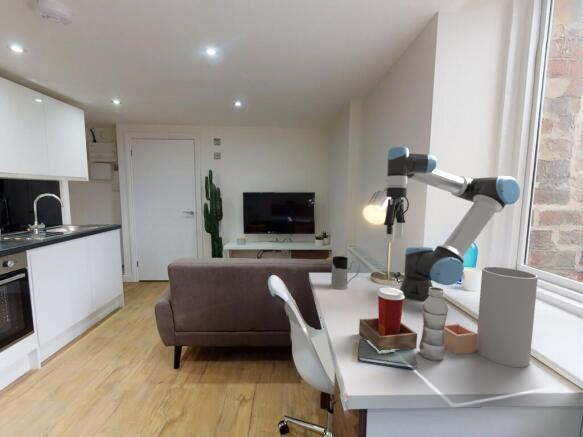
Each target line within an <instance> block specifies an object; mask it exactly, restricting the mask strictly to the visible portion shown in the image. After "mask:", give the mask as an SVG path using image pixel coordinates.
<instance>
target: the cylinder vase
mask: <svg viewBox="0 0 583 437" xmlns="http://www.w3.org/2000/svg"><path fill="white" fill-rule="evenodd" d="M538 277H539V276H538V275H537V274H536V273H533V272H530V271H525V270H522V269H515V268H511V267H510V268H508V267H502V266H484V267H482V268H481V279H480V290H479V291H480V293H479V303H478V304H479V305H478V315H477V316H478V317H477V318H478V320H477V329H476V330H477V331H476V333H477V346H476V352H478V354H479V355H481V356H482V357H483V358H486V359H487V360H489V361H491V362H493V363H496V364H499V365H502V366H504V367H505V366H506V367H510V368H526V367H528V366H529V365H530V362H531V353H532V352H531V351H532V341H533V331H534V319H535V310H536V301H537V300H536V299H537V291H538V290H537V289H538V288H537V287H538V280H539V278H538Z"/></svg>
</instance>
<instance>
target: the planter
mask: <svg viewBox="0 0 583 437" xmlns="http://www.w3.org/2000/svg"><path fill="white" fill-rule="evenodd" d="M444 329H445V330H444V345H445V349H448V350H449V351H451V352H452V353H454V354H455V355H462V354H470V353H476V352H477V349H476V346H477V332H475V331H473V330H471V329H469V328H467V327H466V326H463V325H461V324H460V323H451V324H445V328H444Z"/></svg>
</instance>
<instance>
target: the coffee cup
mask: <svg viewBox="0 0 583 437" xmlns="http://www.w3.org/2000/svg"><path fill="white" fill-rule="evenodd" d="M376 294H377V296H378V297H377V299H378V300H377V302H378V304H377V306H378V308H377V309H378V310H377V311H378V312H377V314H378V317H377V318H378V322H379V335H380V336H388V335H398V334H399V331H400V323H402V315H403V306H404V299H405V298H406V297H404V295H403V292H402V291H401V290H400V289H398V288H394V287H381V288H379V289H378V291H377V292H376Z"/></svg>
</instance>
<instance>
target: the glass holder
mask: <svg viewBox="0 0 583 437" xmlns="http://www.w3.org/2000/svg"><path fill="white" fill-rule="evenodd" d="M348 262H349V260H348V257H346V256H341V255H340V256H332V261H331V279H330V285H329V286H330V288H331V289H334V290H337V291H338V290H339V291H341V290H343V291H344V290H347V289H348V288H349V286H348V284H349V282H351V281H352V280H353V279H355V278H356V277H357V276H358V275H359V272H360V267H361V265H360V262H359V261H356V260H354V261H352V262H351V263H350V268H348ZM354 263H358V269H357V270H358V271H357V273H356V274H355V275H354V276H353V277H351V278H350V279H348V270H351V269H352V267H353V266H352V265H353V264H354Z"/></svg>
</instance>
